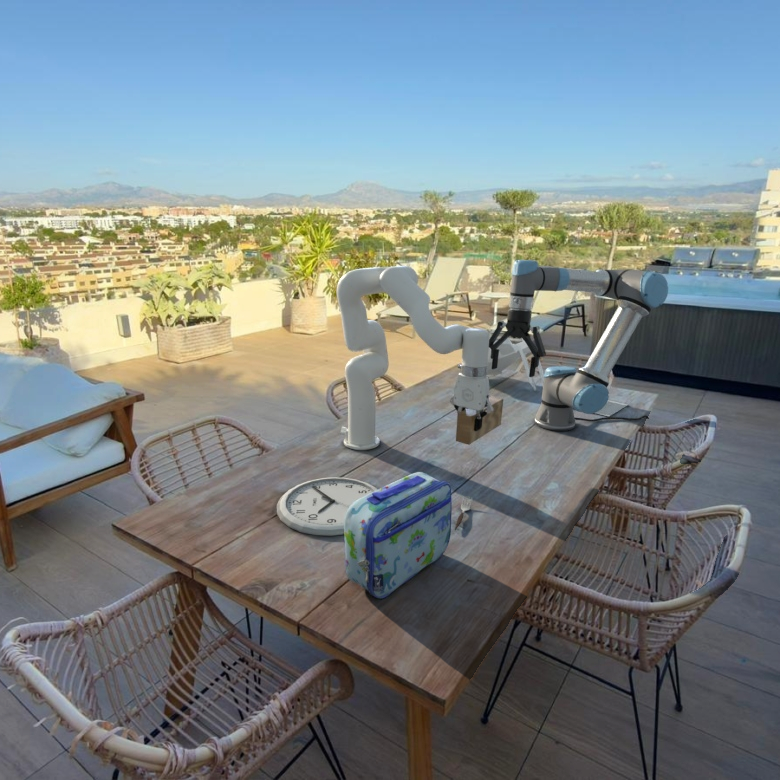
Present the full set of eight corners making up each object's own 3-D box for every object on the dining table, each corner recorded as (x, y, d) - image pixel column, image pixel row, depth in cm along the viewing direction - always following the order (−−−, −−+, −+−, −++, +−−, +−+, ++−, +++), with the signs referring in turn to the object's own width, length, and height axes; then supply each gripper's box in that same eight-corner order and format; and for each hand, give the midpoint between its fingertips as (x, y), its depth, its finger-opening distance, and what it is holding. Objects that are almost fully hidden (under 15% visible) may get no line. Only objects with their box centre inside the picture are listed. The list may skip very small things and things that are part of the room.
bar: (488, 421, 177) (490, 395, 174) (501, 424, 174) (503, 398, 171) (455, 441, 160) (457, 413, 157) (469, 445, 157) (471, 416, 154)
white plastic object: (482, 419, 265) (461, 396, 241) (463, 346, 287) (443, 319, 263) (553, 395, 253) (539, 368, 228) (528, 321, 275) (513, 290, 250)
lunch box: (372, 611, 103) (373, 518, 97) (338, 585, 111) (336, 497, 104) (455, 557, 121) (460, 475, 115) (420, 537, 128) (424, 459, 122)
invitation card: (608, 416, 214) (573, 407, 224) (608, 416, 214) (573, 408, 224) (628, 404, 229) (594, 396, 238) (628, 405, 229) (594, 397, 238)
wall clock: (392, 527, 129) (268, 531, 127) (391, 533, 130) (269, 537, 127) (383, 473, 158) (282, 475, 155) (383, 478, 158) (282, 480, 156)
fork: (449, 531, 131) (450, 524, 131) (463, 501, 146) (463, 495, 145) (459, 533, 130) (460, 526, 130) (472, 503, 145) (473, 496, 144)
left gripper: (442, 368, 157) (439, 424, 162) (494, 378, 147) (489, 438, 153) (455, 363, 163) (451, 418, 168) (505, 373, 153) (500, 431, 158)
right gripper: (480, 305, 174) (474, 367, 180) (553, 315, 159) (543, 382, 165) (491, 303, 179) (484, 363, 185) (562, 313, 165) (552, 377, 171)
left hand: (469, 427), depth 160 cm, fingers closed on bar, 4 cm apart
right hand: (512, 372), depth 175 cm, fingers open, 13 cm apart
